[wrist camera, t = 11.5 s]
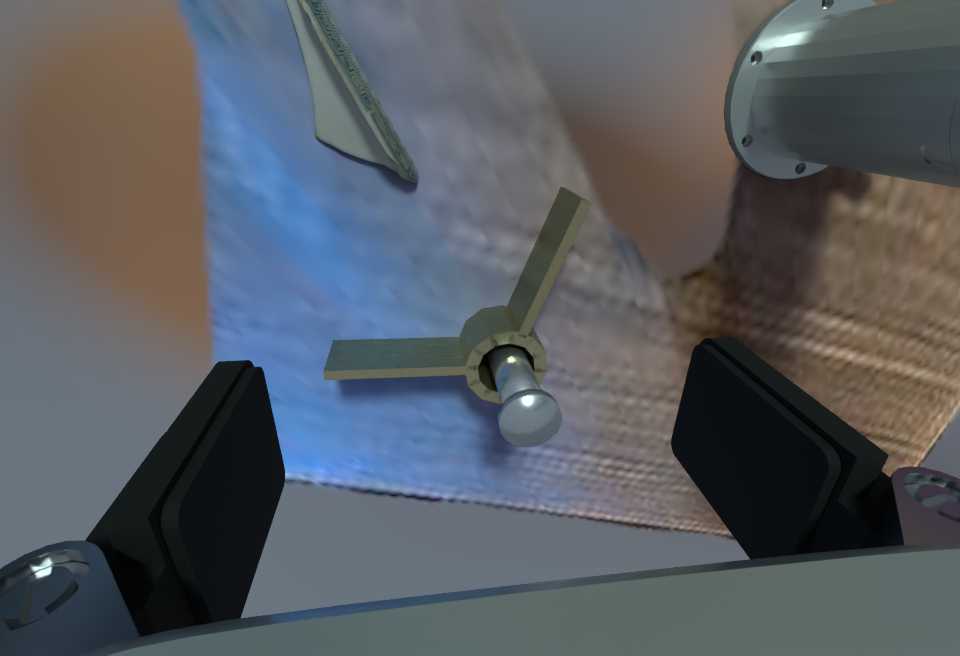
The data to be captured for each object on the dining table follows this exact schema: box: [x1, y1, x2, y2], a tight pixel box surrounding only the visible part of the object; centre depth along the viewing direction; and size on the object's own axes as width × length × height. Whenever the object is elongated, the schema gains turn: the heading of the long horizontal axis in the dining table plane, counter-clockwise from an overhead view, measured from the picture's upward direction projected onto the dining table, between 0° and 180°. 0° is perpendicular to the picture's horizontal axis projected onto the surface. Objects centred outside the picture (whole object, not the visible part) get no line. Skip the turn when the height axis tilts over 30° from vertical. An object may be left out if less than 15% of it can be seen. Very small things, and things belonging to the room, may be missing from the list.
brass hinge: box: [324, 187, 592, 404], centre depth 37 cm, size 17×19×5 cm
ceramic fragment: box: [286, 0, 419, 183], centre depth 31 cm, size 14×5×4 cm, turn 26°
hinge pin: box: [487, 343, 562, 447], centre depth 37 cm, size 4×4×12 cm
